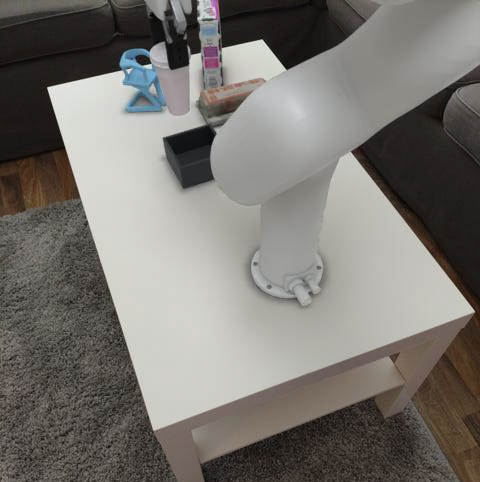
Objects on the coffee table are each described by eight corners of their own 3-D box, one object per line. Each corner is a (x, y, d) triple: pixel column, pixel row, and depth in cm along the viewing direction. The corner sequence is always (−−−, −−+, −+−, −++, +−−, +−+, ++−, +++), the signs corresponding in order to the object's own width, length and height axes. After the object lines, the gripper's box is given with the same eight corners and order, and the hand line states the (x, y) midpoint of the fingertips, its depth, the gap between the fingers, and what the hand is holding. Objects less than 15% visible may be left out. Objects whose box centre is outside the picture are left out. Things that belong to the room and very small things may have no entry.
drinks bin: (231, 173, 91) (230, 152, 87) (183, 189, 89) (179, 168, 85) (212, 144, 97) (210, 123, 92) (166, 158, 95) (162, 137, 90)
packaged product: (207, 109, 96) (193, 85, 101) (209, 129, 100) (196, 105, 105) (283, 89, 98) (266, 67, 103) (282, 110, 102) (265, 88, 108)
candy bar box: (225, 93, 107) (219, 18, 93) (204, 95, 107) (196, 20, 93) (223, 68, 113) (218, -6, 99) (203, 70, 113) (196, -4, 99)
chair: (157, 117, 103) (146, 64, 93) (125, 111, 104) (111, 59, 94) (170, 98, 107) (160, 46, 96) (139, 93, 108) (126, 41, 98)
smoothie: (199, 98, 77) (189, 9, 65) (195, 121, 74) (183, 31, 62) (164, 98, 78) (147, 9, 66) (157, 120, 74) (138, 30, 62)
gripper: (203, -81, 49) (215, 77, 65) (152, -124, 58) (174, 25, 73) (140, -68, 48) (167, 91, 63) (97, -113, 56) (131, 36, 72)
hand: (171, 54), depth 68 cm, fingers closed on smoothie, 6 cm apart
